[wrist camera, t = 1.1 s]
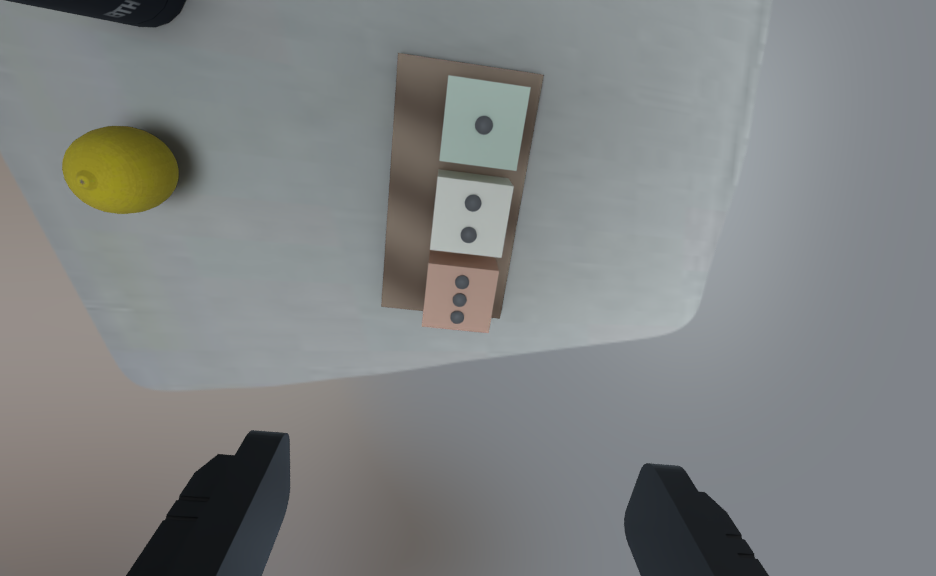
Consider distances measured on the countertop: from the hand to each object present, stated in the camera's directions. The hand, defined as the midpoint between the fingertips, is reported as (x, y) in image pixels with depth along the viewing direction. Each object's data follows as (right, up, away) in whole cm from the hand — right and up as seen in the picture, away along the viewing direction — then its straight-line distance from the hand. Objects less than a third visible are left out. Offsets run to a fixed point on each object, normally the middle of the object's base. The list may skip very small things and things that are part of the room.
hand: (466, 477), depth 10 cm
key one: (+1, +16, +21) cm, 26 cm away
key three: (-1, +5, +26) cm, 26 cm away
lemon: (-23, +14, +24) cm, 36 cm away
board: (-1, +11, +26) cm, 28 cm away
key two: (0, +10, +23) cm, 25 cm away
